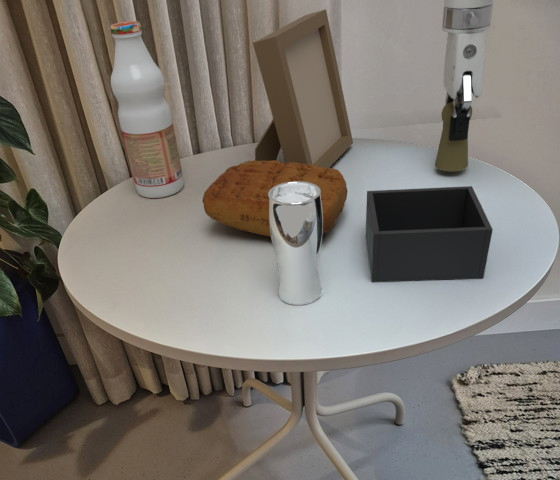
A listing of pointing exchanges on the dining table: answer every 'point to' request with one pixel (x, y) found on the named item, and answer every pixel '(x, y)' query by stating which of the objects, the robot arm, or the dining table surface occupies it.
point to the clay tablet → (256, 185)
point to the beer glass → (297, 239)
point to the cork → (451, 145)
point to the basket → (426, 234)
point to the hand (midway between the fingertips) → (454, 133)
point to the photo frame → (303, 94)
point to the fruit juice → (144, 115)
